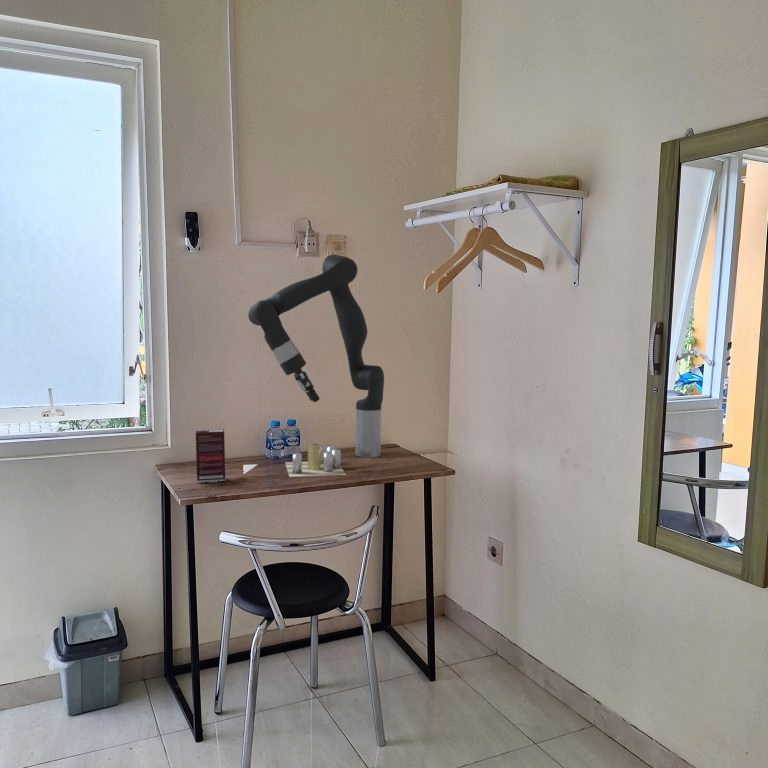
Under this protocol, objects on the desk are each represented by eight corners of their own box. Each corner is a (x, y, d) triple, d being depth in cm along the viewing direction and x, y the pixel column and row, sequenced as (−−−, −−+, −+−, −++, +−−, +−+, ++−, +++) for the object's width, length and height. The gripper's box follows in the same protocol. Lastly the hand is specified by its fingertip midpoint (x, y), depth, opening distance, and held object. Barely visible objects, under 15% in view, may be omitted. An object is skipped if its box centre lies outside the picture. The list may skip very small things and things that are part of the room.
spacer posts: (289, 462, 238) (289, 445, 237) (336, 461, 241) (336, 444, 241) (292, 473, 222) (292, 455, 222) (343, 472, 226) (343, 454, 225)
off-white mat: (243, 465, 236) (243, 464, 236) (273, 465, 238) (273, 463, 238) (243, 478, 219) (243, 477, 219) (275, 477, 221) (275, 476, 221)
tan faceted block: (310, 466, 233) (310, 442, 232) (322, 467, 232) (322, 443, 231) (306, 469, 228) (307, 445, 227) (318, 470, 228) (318, 446, 227)
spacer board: (285, 465, 238) (285, 462, 238) (337, 463, 242) (337, 460, 242) (289, 479, 219) (289, 476, 219) (346, 477, 222) (346, 474, 222)
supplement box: (224, 478, 219) (224, 428, 217) (225, 482, 215) (224, 431, 213) (196, 479, 217) (195, 429, 215) (196, 483, 212) (195, 432, 211)
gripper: (301, 350, 216) (328, 395, 219) (297, 351, 230) (322, 393, 233) (280, 363, 215) (308, 407, 217) (277, 363, 229) (303, 405, 231)
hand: (315, 400), depth 225 cm, fingers open, 8 cm apart
